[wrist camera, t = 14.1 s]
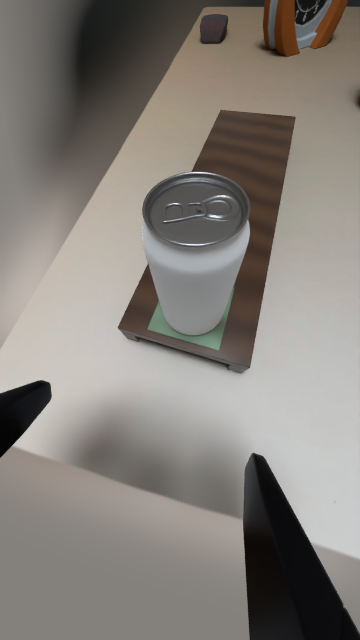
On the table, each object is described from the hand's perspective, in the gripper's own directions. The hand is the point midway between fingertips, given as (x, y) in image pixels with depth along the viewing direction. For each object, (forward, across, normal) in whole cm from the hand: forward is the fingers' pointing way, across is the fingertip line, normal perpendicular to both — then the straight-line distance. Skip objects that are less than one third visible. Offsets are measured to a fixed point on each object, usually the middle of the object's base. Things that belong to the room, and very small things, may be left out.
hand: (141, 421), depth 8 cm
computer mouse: (+89, +20, -69) cm, 114 cm away
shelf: (+31, 0, -12) cm, 33 cm away
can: (+15, 0, 0) cm, 15 cm away
